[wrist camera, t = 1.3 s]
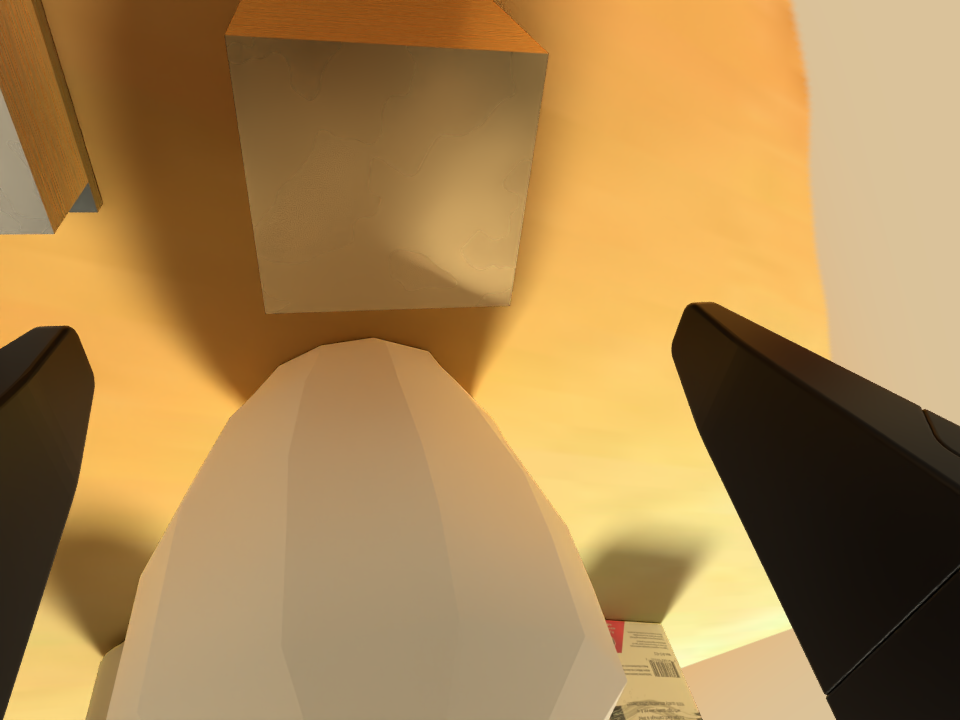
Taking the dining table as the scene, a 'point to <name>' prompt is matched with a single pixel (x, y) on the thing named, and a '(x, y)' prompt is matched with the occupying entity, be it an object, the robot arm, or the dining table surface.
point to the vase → (365, 564)
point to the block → (385, 149)
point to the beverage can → (104, 684)
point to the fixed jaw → (33, 131)
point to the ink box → (650, 675)
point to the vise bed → (70, 120)
